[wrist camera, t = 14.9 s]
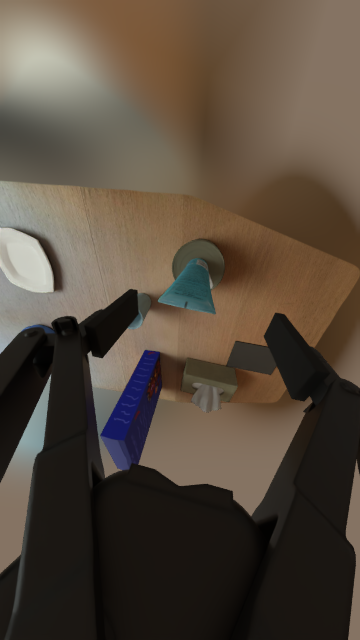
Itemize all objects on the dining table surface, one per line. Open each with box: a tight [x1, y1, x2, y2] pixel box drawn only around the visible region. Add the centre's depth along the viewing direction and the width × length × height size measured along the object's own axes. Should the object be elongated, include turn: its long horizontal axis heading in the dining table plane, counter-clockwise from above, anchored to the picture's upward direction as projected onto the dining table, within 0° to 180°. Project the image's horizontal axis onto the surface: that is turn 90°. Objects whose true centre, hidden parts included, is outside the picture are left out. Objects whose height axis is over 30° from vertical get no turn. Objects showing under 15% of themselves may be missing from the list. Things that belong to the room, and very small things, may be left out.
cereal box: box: [100, 350, 162, 470], centre depth 55 cm, size 22×6×30 cm, turn 179°
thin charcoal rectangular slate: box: [226, 341, 277, 375], centre depth 55 cm, size 16×12×1 cm
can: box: [172, 239, 225, 290], centre depth 39 cm, size 12×12×7 cm
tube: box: [158, 258, 216, 314], centre depth 28 cm, size 7×5×19 cm, turn 86°
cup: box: [128, 293, 151, 329], centre depth 46 cm, size 8×8×10 cm
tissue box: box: [181, 358, 238, 412], centre depth 55 cm, size 19×10×16 cm, turn 82°
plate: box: [0, 227, 54, 293], centre depth 49 cm, size 19×19×2 cm
